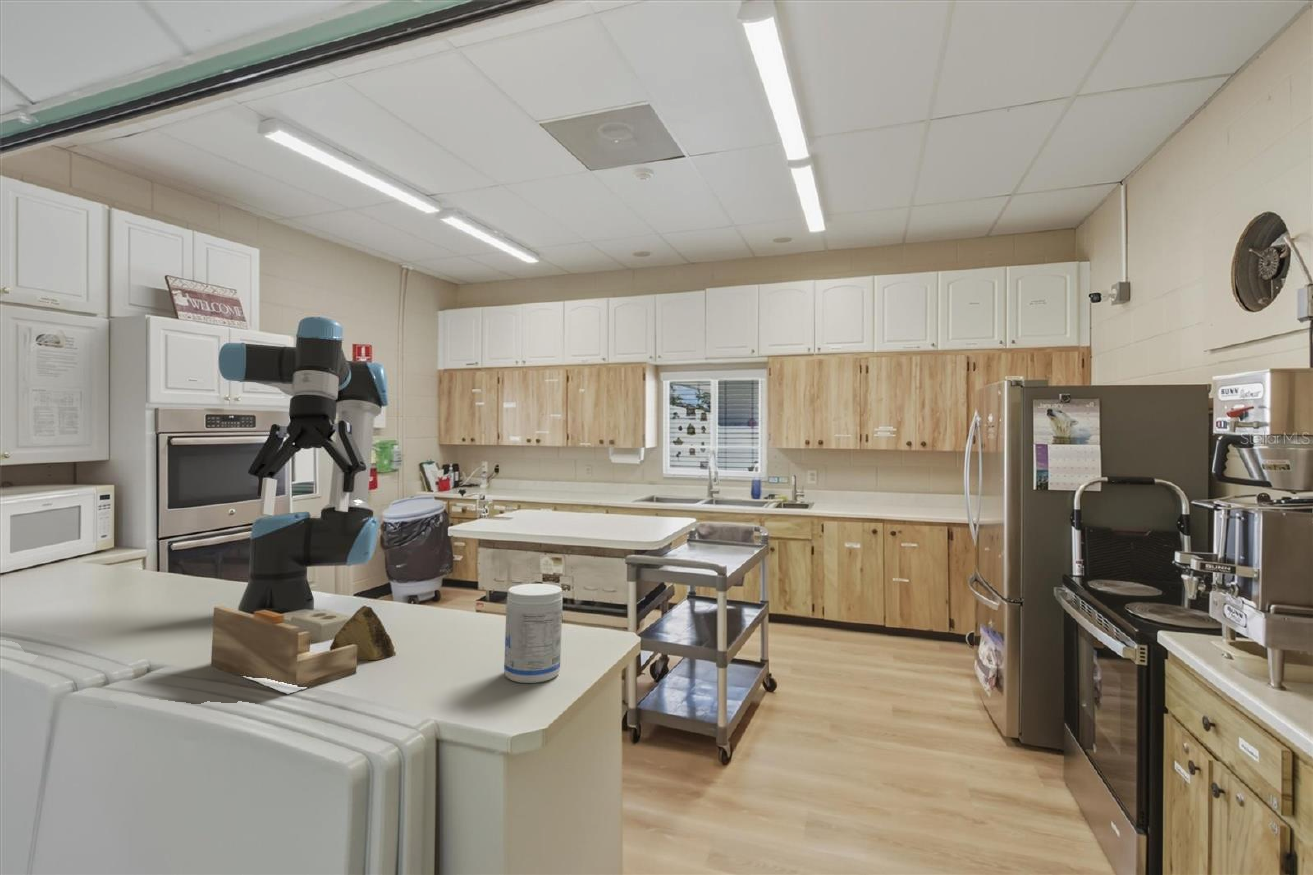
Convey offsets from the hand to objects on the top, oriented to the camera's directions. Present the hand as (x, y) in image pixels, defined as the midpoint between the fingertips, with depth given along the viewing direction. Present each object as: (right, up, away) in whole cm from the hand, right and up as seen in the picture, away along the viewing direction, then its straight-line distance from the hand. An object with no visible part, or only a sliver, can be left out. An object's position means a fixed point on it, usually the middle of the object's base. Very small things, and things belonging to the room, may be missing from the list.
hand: (303, 513), depth 105 cm
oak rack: (-2, -27, -3) cm, 27 cm away
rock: (+8, -27, +5) cm, 29 cm away
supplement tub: (+41, -28, -3) cm, 50 cm away
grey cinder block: (-10, -28, +20) cm, 36 cm away
